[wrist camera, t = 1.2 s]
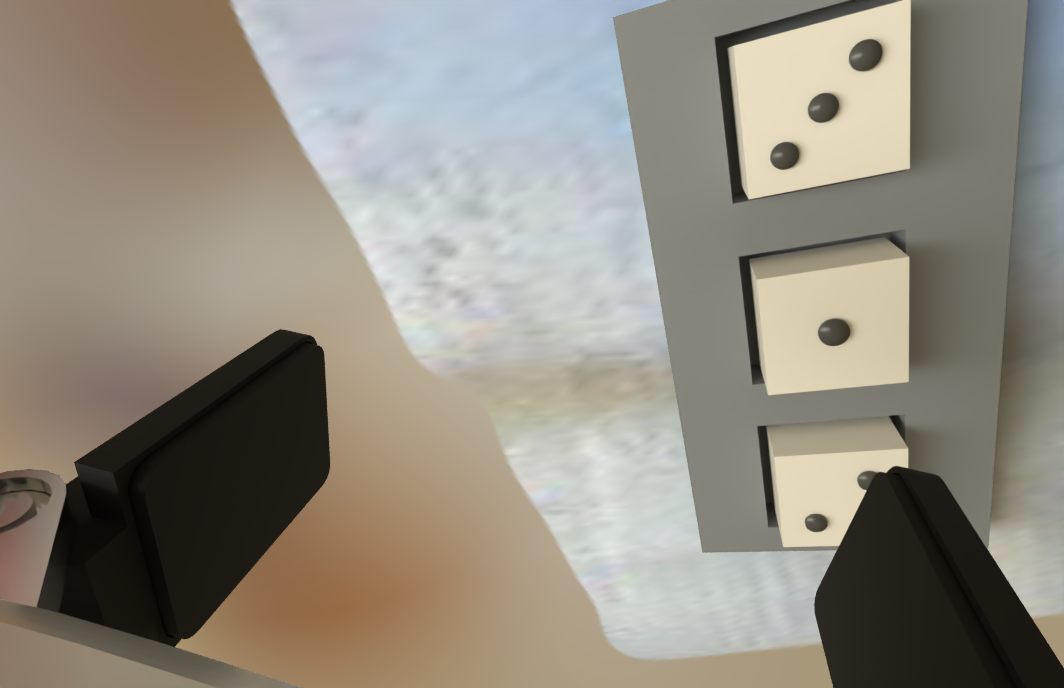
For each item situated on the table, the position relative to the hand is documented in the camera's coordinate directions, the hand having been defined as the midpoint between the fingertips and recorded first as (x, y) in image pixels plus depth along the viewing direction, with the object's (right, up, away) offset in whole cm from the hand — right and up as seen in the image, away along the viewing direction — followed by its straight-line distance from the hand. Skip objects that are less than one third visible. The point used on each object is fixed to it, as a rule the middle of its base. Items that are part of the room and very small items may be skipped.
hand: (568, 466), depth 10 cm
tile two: (+15, -4, +20) cm, 26 cm away
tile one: (+13, +4, +17) cm, 22 cm away
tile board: (+13, +4, +18) cm, 23 cm away
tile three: (+11, +12, +14) cm, 21 cm away
